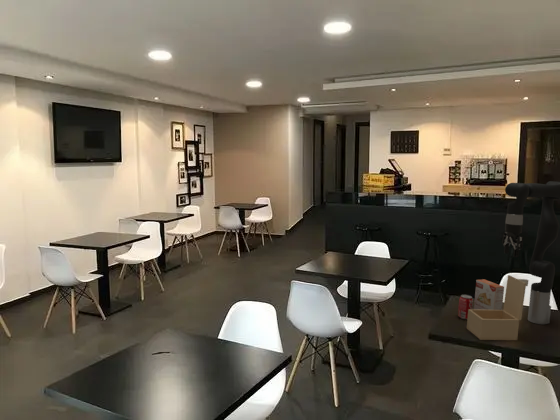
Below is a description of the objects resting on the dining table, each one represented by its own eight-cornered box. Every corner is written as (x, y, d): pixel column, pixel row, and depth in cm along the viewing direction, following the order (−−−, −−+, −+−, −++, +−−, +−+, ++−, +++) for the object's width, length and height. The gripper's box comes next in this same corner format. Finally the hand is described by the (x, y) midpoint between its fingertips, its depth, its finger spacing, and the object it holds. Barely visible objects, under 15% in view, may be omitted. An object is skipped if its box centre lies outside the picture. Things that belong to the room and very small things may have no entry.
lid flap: (503, 309, 223) (514, 310, 223) (519, 320, 209) (531, 320, 209) (508, 275, 221) (519, 275, 221) (524, 283, 207) (536, 283, 207)
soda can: (470, 316, 241) (472, 295, 239) (472, 320, 234) (474, 299, 232) (456, 314, 243) (458, 293, 241) (458, 319, 236) (460, 297, 234)
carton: (501, 328, 224) (503, 309, 223) (517, 340, 210) (519, 320, 209) (466, 328, 223) (468, 309, 222) (480, 339, 209) (482, 319, 208)
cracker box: (472, 316, 240) (475, 279, 238) (481, 315, 242) (484, 278, 240) (491, 326, 227) (495, 286, 225) (501, 325, 229) (504, 286, 226)
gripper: (530, 225, 212) (526, 258, 213) (513, 221, 226) (510, 252, 228) (514, 225, 211) (511, 258, 213) (498, 220, 225) (496, 251, 227)
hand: (510, 255), depth 220 cm, fingers open, 8 cm apart
